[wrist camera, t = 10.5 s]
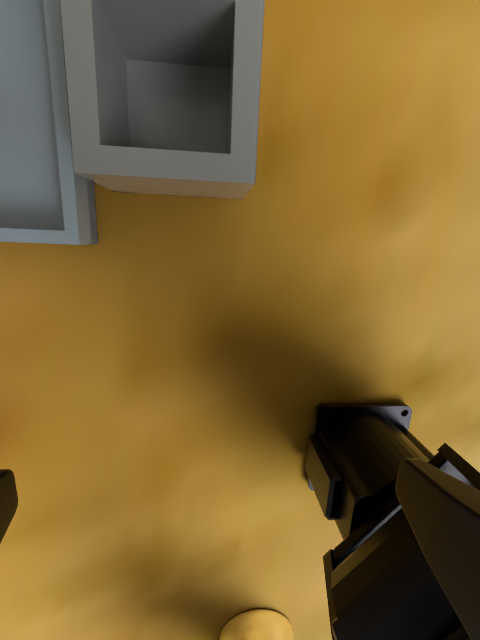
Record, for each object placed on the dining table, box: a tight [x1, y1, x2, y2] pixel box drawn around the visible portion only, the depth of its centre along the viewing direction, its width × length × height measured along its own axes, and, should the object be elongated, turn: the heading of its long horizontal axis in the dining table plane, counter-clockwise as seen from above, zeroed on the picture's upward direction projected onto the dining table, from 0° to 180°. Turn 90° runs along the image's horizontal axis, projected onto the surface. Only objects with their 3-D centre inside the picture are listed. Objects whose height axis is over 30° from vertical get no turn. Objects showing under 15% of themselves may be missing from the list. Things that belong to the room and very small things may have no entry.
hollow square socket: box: [60, 0, 264, 199], centre depth 14 cm, size 7×7×5 cm
